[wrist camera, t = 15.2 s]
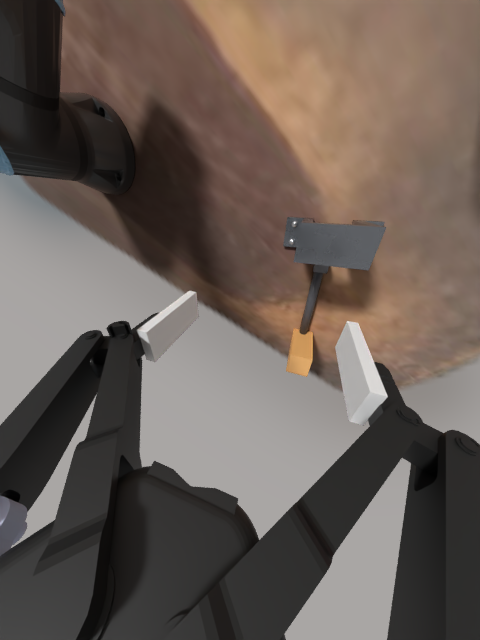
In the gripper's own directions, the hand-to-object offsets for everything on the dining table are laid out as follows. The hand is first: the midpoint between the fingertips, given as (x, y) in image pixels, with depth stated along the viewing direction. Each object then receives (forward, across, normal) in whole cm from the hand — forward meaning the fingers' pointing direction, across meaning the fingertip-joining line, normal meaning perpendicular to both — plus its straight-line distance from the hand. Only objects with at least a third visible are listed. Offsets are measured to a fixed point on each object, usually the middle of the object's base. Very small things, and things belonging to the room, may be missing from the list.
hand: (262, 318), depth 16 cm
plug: (+26, +7, -12) cm, 29 cm away
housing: (+26, +6, +4) cm, 27 cm away
